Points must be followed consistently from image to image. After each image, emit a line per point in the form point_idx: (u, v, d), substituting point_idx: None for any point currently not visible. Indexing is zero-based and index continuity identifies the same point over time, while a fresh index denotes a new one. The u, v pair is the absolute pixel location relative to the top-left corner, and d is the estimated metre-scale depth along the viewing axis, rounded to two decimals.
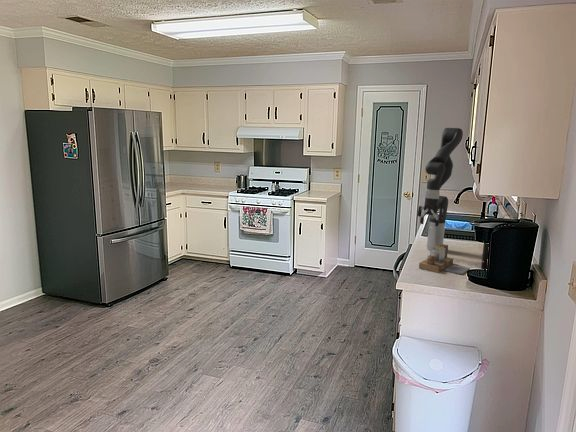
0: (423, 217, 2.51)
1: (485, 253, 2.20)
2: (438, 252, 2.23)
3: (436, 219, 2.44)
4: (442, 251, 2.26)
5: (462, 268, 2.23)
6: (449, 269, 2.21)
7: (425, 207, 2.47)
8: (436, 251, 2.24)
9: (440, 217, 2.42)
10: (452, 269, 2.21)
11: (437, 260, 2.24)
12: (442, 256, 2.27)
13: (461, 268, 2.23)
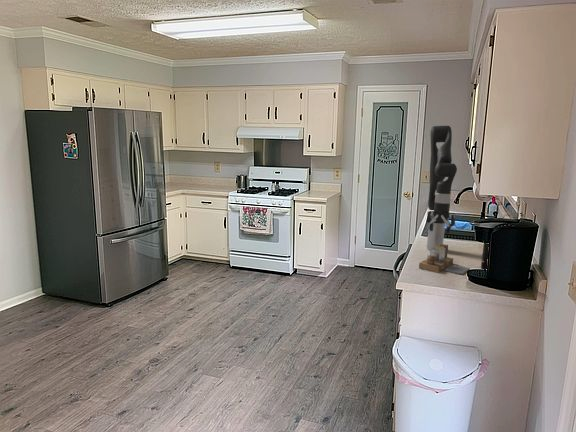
0: (433, 223, 2.28)
1: (485, 253, 2.20)
2: (438, 252, 2.23)
3: None
4: (442, 251, 2.26)
5: (462, 268, 2.23)
6: (449, 269, 2.21)
7: (435, 212, 2.25)
8: (436, 251, 2.24)
9: (452, 224, 2.19)
10: (452, 269, 2.21)
11: (437, 260, 2.24)
12: (442, 256, 2.27)
13: (461, 268, 2.23)
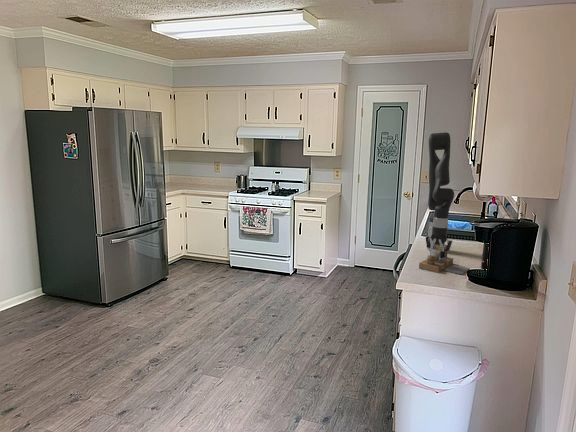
0: None
1: (485, 253, 2.20)
2: (438, 252, 2.23)
3: (442, 250, 2.24)
4: None
5: (462, 268, 2.23)
6: (449, 269, 2.21)
7: (432, 236, 2.27)
8: (436, 251, 2.24)
9: (446, 249, 2.23)
10: (452, 269, 2.21)
11: (437, 260, 2.24)
12: None
13: (461, 268, 2.23)
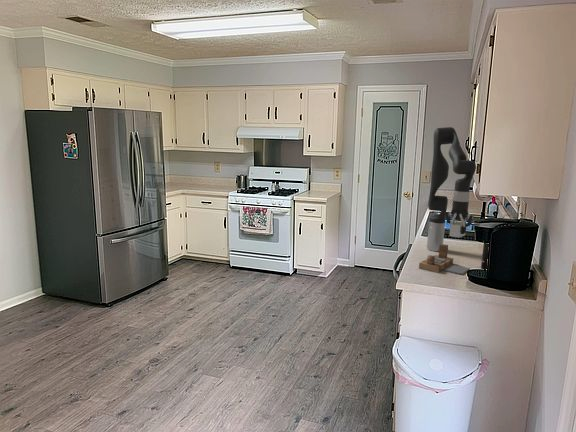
0: None
1: (485, 253, 2.20)
2: (459, 227, 2.14)
3: (463, 226, 2.15)
4: None
5: (462, 268, 2.23)
6: (449, 269, 2.21)
7: (453, 211, 2.18)
8: (456, 226, 2.15)
9: (467, 224, 2.14)
10: (452, 269, 2.21)
11: (458, 235, 2.15)
12: None
13: (461, 268, 2.23)
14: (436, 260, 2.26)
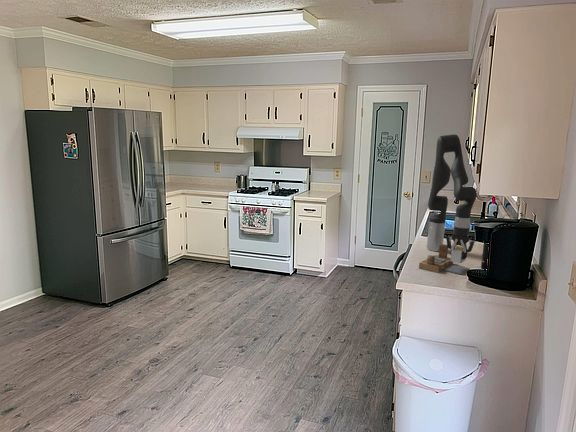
0: None
1: (485, 253, 2.20)
2: (460, 253, 2.16)
3: None
4: None
5: (462, 268, 2.23)
6: (449, 269, 2.21)
7: (453, 236, 2.20)
8: (458, 252, 2.16)
9: (468, 250, 2.16)
10: (452, 269, 2.21)
11: (459, 261, 2.17)
12: None
13: (461, 268, 2.23)
14: (436, 260, 2.26)
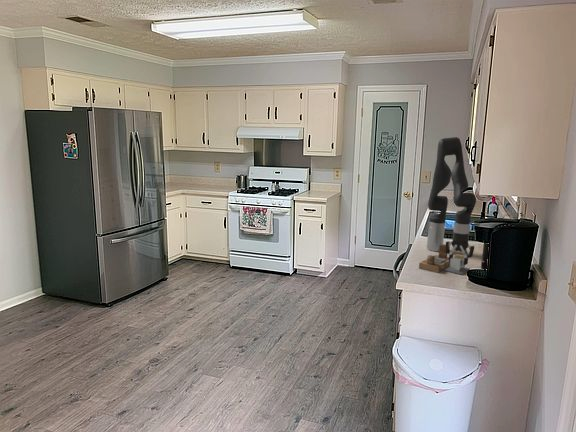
0: (452, 254, 2.23)
1: (485, 253, 2.20)
2: (459, 261, 2.17)
3: (465, 257, 2.17)
4: (463, 260, 2.19)
5: None
6: None
7: (453, 242, 2.20)
8: (457, 260, 2.17)
9: (469, 255, 2.16)
10: None
11: (458, 270, 2.18)
12: (462, 265, 2.20)
13: None
14: (436, 260, 2.26)
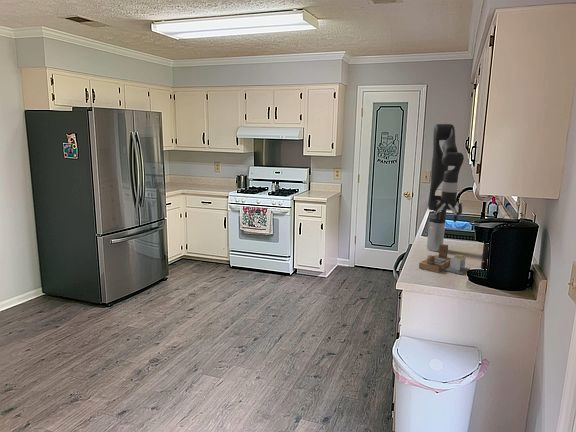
0: None
1: (485, 253, 2.20)
2: (459, 261, 2.17)
3: None
4: (463, 260, 2.19)
5: None
6: None
7: (442, 201, 2.27)
8: (457, 260, 2.17)
9: (459, 212, 2.22)
10: None
11: (458, 270, 2.18)
12: (462, 265, 2.20)
13: None
14: (436, 260, 2.26)
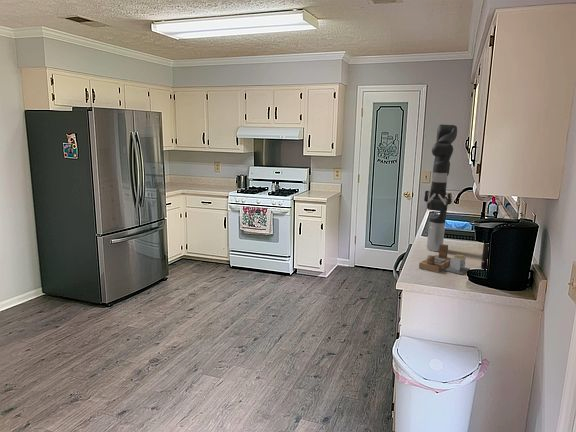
0: (430, 202, 2.37)
1: (485, 253, 2.20)
2: (459, 261, 2.17)
3: (444, 204, 2.30)
4: (463, 260, 2.19)
5: None
6: None
7: (432, 192, 2.33)
8: (457, 260, 2.17)
9: (448, 202, 2.28)
10: None
11: (458, 270, 2.18)
12: (462, 265, 2.20)
13: None
14: (436, 260, 2.26)
